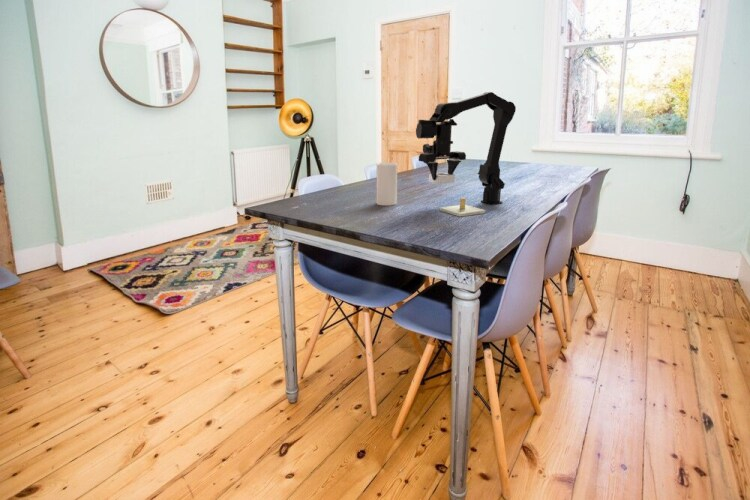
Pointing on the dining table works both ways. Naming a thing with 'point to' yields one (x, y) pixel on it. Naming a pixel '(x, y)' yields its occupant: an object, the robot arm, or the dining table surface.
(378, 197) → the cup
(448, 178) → the link
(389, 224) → the dining table surface
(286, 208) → the dining table surface
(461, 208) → the keeper
